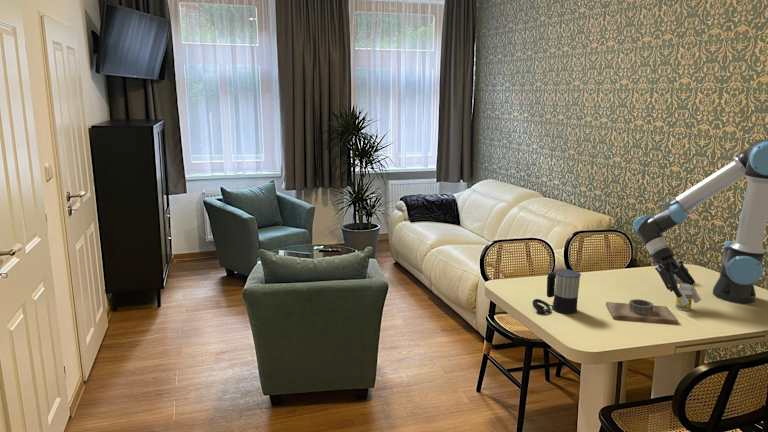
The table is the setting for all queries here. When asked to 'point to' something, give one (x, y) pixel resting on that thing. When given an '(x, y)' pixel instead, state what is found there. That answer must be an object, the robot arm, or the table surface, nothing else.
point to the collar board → (641, 312)
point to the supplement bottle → (688, 293)
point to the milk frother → (561, 292)
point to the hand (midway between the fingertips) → (692, 302)
